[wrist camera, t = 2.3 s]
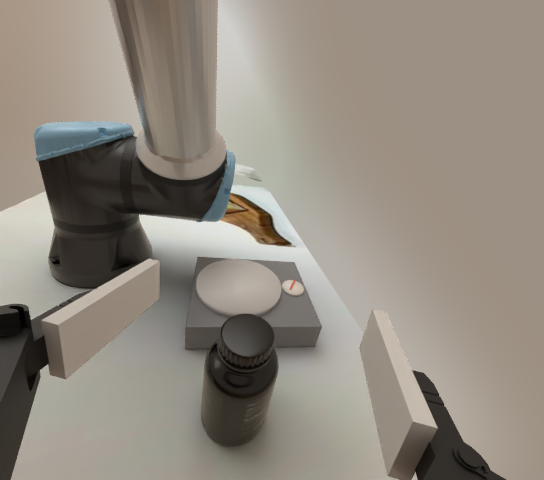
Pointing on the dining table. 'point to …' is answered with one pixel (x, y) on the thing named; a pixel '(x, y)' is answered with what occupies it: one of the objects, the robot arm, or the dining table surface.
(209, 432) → the supplement bottle
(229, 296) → the kitchen scale
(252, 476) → the dining table surface
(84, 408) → the dining table surface
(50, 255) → the robot arm
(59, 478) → the dining table surface
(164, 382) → the dining table surface
